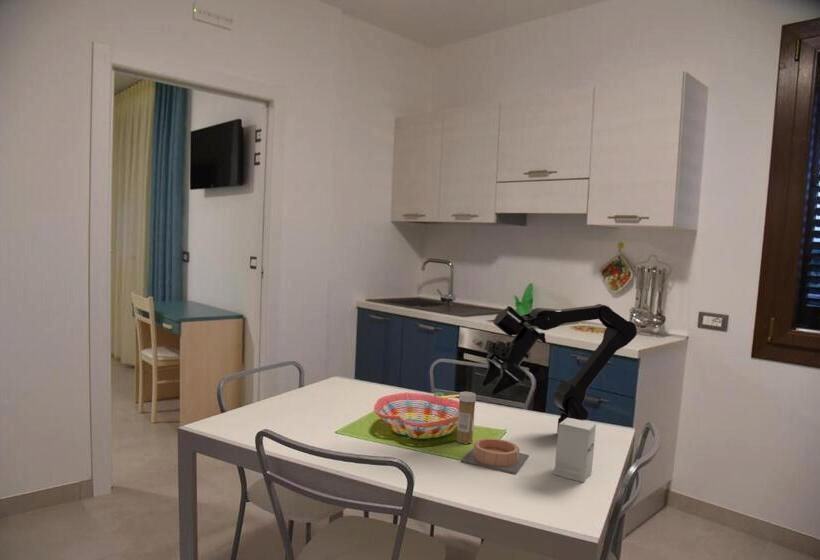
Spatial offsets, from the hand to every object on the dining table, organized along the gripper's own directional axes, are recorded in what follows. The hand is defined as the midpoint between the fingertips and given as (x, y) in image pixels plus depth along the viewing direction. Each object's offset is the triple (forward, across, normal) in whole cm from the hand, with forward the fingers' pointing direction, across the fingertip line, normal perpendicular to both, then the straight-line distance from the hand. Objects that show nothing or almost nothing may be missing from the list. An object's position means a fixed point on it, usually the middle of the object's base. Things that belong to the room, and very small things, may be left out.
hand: (487, 389), depth 164 cm
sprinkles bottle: (+15, +6, +2) cm, 16 cm away
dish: (+12, +18, +5) cm, 23 cm away
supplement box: (+3, +28, +19) cm, 34 cm away
